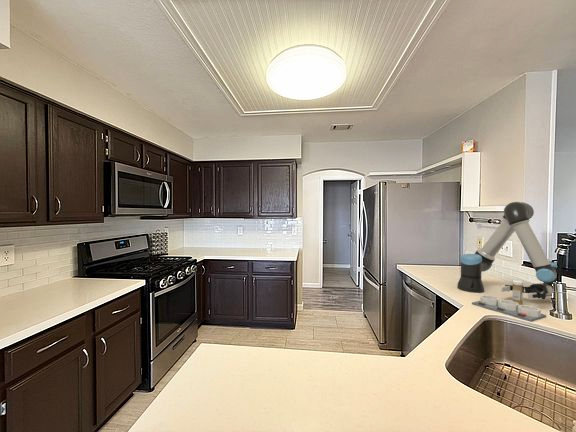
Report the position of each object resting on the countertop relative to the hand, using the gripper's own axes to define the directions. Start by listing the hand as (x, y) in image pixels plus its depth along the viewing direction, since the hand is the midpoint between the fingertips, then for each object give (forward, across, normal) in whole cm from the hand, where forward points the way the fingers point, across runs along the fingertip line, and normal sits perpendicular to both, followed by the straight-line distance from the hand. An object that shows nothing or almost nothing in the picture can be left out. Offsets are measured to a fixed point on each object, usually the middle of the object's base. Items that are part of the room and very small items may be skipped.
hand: (513, 292), depth 154 cm
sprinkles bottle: (-3, 0, -7) cm, 8 cm away
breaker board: (+12, -5, -7) cm, 15 cm away
